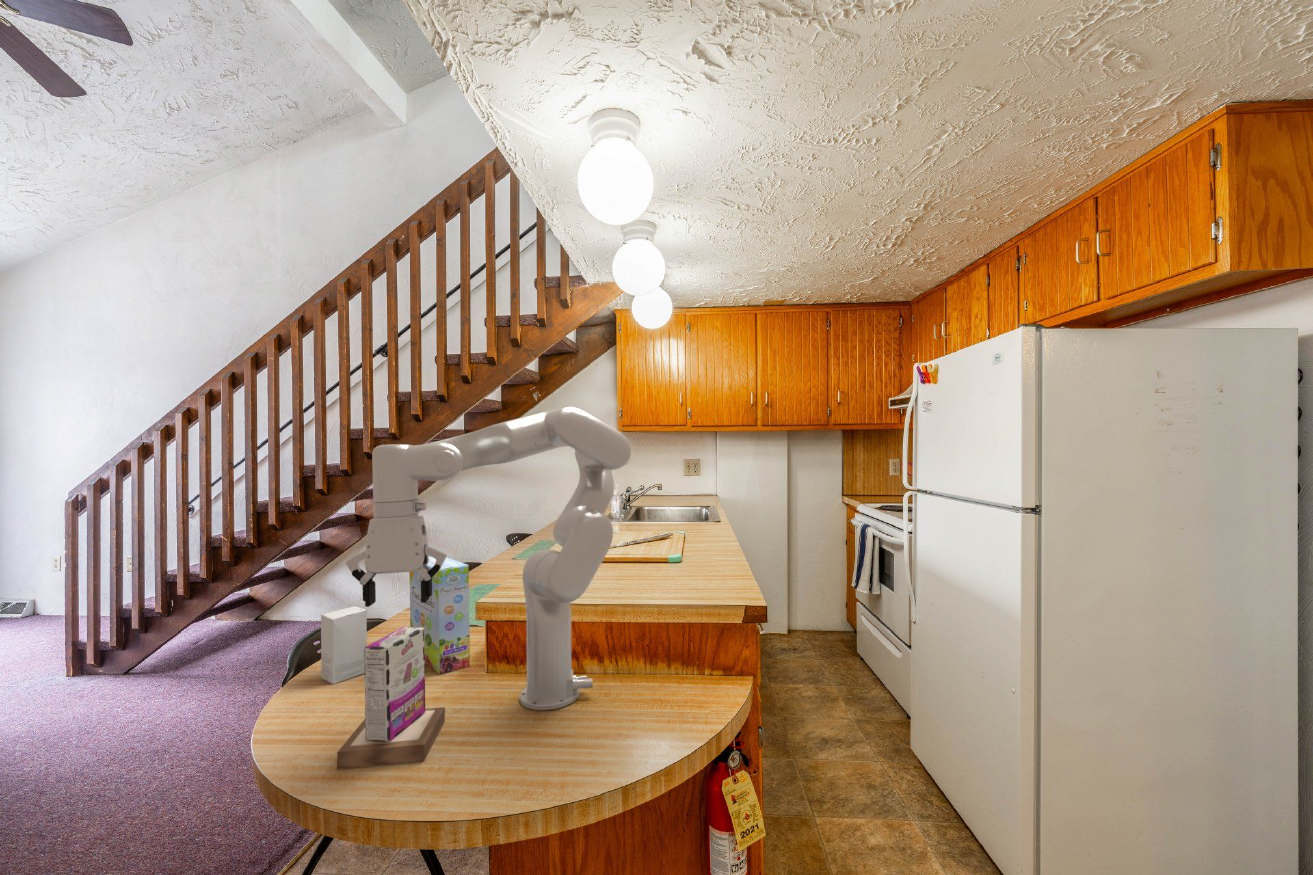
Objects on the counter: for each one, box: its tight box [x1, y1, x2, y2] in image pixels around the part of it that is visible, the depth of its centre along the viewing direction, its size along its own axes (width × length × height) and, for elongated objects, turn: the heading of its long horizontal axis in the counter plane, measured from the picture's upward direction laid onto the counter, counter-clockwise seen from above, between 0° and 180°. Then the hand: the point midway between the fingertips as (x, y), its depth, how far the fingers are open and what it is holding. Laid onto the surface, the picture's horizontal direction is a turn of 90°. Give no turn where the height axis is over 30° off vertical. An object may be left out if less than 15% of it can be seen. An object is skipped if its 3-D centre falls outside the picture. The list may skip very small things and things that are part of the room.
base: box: [336, 706, 446, 770], centre depth 98 cm, size 14×14×3 cm
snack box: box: [408, 556, 471, 675], centre depth 139 cm, size 22×9×26 cm, turn 43°
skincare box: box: [320, 605, 368, 685], centre depth 129 cm, size 8×7×16 cm
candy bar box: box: [364, 626, 426, 742], centre depth 98 cm, size 11×5×16 cm, turn 171°
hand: (398, 602), depth 99 cm, fingers open, 9 cm apart
